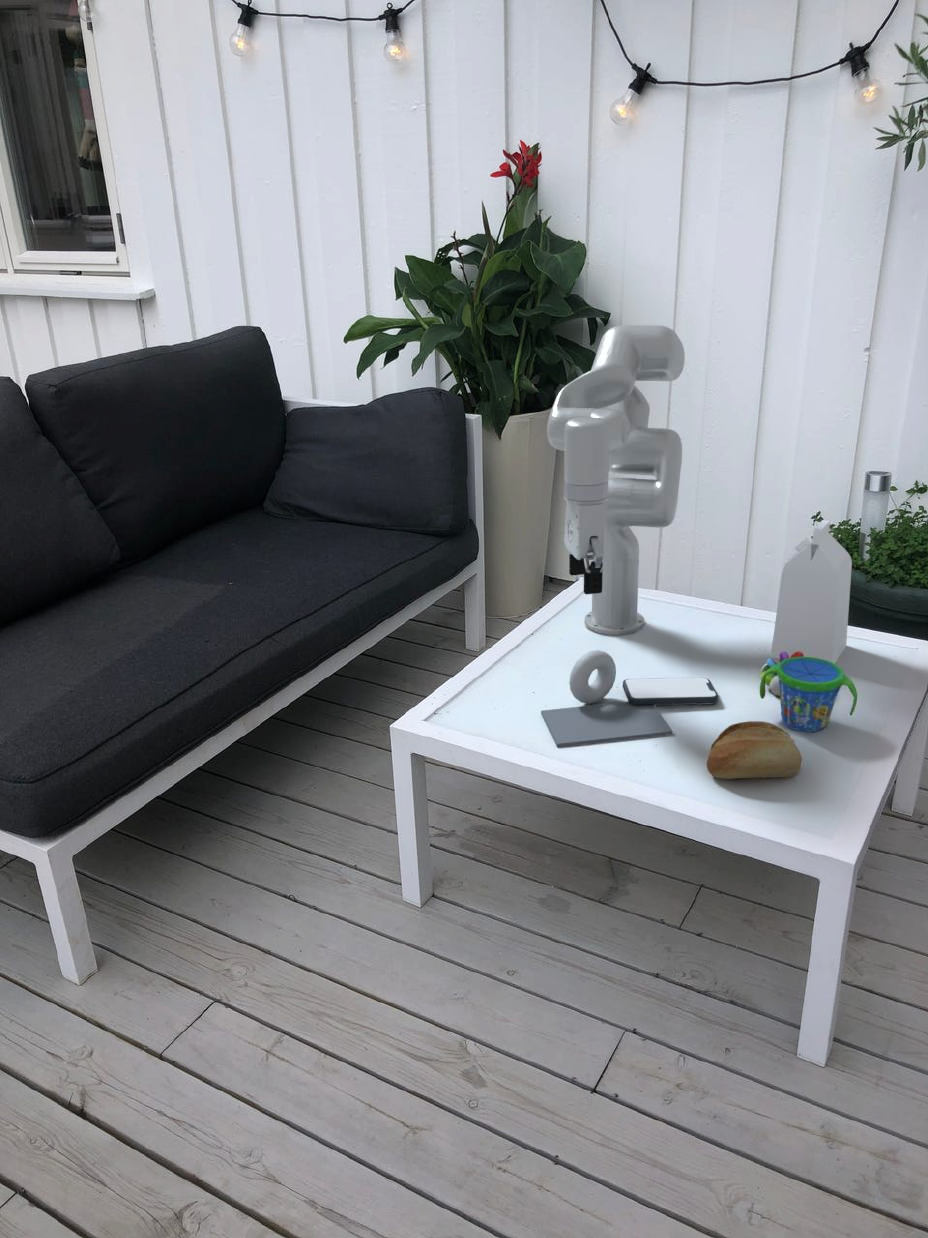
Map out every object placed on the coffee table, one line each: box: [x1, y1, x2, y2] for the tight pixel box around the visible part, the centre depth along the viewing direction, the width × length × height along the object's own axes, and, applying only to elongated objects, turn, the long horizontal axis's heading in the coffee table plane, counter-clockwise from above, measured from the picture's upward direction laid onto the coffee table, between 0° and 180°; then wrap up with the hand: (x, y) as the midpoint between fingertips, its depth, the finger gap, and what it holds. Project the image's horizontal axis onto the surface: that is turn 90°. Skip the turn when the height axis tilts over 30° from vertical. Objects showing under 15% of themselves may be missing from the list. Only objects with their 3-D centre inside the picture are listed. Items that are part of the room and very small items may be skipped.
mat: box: [540, 701, 674, 748], centre depth 174 cm, size 12×20×1 cm, turn 99°
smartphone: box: [622, 677, 719, 706], centre depth 182 cm, size 9×2×16 cm
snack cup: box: [759, 657, 858, 733], centre depth 170 cm, size 16×10×10 cm
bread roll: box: [706, 720, 803, 780], centre depth 156 cm, size 10×15×8 cm, turn 97°
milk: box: [770, 519, 853, 664], centre depth 193 cm, size 12×12×26 cm
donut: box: [568, 649, 617, 705], centre depth 180 cm, size 10×4×10 cm, turn 125°
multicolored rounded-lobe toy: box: [760, 651, 804, 697], centre depth 183 cm, size 8×10×7 cm
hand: (585, 583), depth 180 cm, fingers open, 9 cm apart
